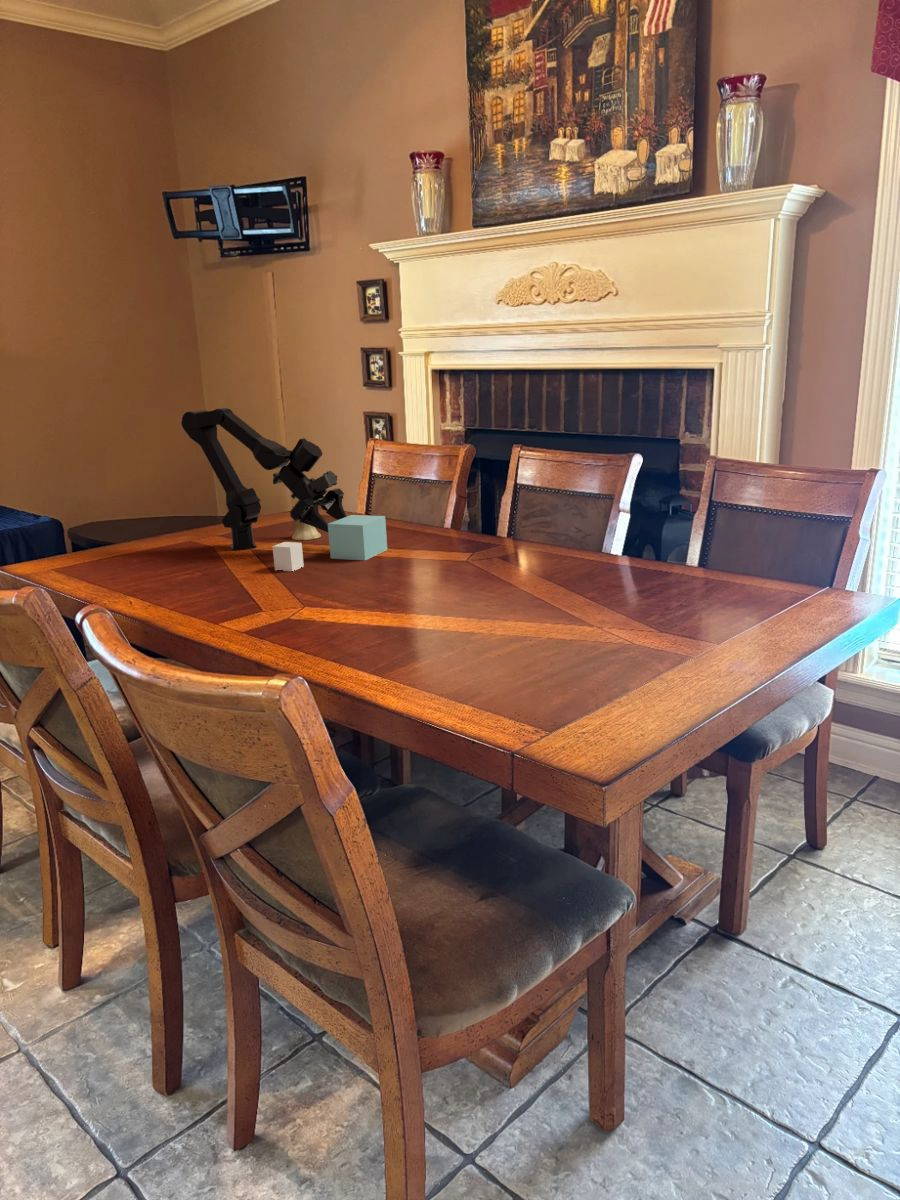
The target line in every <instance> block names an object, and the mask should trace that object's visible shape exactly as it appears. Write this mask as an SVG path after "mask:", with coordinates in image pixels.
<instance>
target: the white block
mask: <svg viewBox="0 0 900 1200" xmlns="http://www.w3.org/2000/svg"><path fill="white" fill-rule="evenodd" d="M271 547H272V556H273V563H274V565H273V566H274V571H277V570H283V571H282V572H291V571H293V572H295V571H297V570H299V569H301V567H302V568H304V567H305V565H304V555H303V544H302V542H294V541H283V542H280V543H278V544H275V545H272V546H271ZM294 570H295V571H294Z"/></svg>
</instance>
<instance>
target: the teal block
mask: <svg viewBox="0 0 900 1200" xmlns="http://www.w3.org/2000/svg"><path fill="white" fill-rule="evenodd" d="M346 516H347V515H346ZM386 523H387V522H386V516H385V515H363V514H362V515H361V514H360V515H357V514H351V515H348V516H347V517H345V518H342V519H339V520H337V519H336V520H333V521H332V522H329V523H327V524H328V532H327V533H328V545H329V553H330V559H333V560H334V559H335V560H337V559H338V560H350V561H353V560H355V561H367V560H369V559H371V558H373V557H375V556H377V554H378V555H380V554H382V553H383V552H385V551H388V540H387V539H388V537H387V524H386Z"/></svg>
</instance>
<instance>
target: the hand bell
mask: <svg viewBox="0 0 900 1200" xmlns="http://www.w3.org/2000/svg"><path fill="white" fill-rule="evenodd" d="M299 521H300V520H299ZM299 521H296V529H295V532H294V534H293V535H292V536H291V539H292V540H294V541H309V540H315V539H319V538H321V537H322V534H321V533H320V532H319V531H318V530H317V528H316V527H313V526H310V525H308V524H305V523H300V522H299Z"/></svg>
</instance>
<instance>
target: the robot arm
mask: <svg viewBox="0 0 900 1200" xmlns="http://www.w3.org/2000/svg"><path fill="white" fill-rule="evenodd" d="M180 422H181V423H180V424H181V427H182V429H183V430H184V433H186V434H187V436H188V438H190V439H191V440H192V441H194V442H195V443H196V444H197V445H199V446H200V448H201V449H202V452H203V453H204V455H205V457H206V459H207V461H208V462H209V464H210V466H211V469H212V470H213V472H214V473H215V475H216V477H217V479H218V482H219V483H220V485H221V487H222V488H223V490H224V492H225V505H226V508H227V510H228V511H227V513H226V514H225V515H224V516H223V518H222V519H221V522H222V525H223V527H224V528H229V529H230V535H231V543H230V545H229V546H230V548H231V550H232V551H237V550H247V549H252V548H253V549H254V548H257V544H256V542H255V540H254V534H253V525H252V524H254V523H257V522H258V518H259V515H260V513H261V509H262V505H261V503H260V502H261V501H262V500H261V499H260V498H259V496H257V493H256V491H255V489H254V488H253V487H251V488H247V487H246V486H244V485H243V483H242V482H241V480H240V478H239V476H238V474H237V472H236V471H235V469H234V467H233V464H232V463H231V461H230V460H229V457H228V455H227V454H226V451H225V450H224V448H223V446H222V444H221V442H220V441H219V438H218V427H217V426H220V427H221V428H222V429H224V431H226V432H228V433H229V434H230V436H232V437H234V438H235V439H236V440H237V441H239V442H240V443H241V444H242V445H243V446H245V448H248V449H249V451H251V453H252V455H253V457H254V460H255V461H257V463H258V464H259V465H260V467H262V468H263V469H264V470H266V471H271V470H275V469H280V470H279V471H278V472H275V473H272V476H273V479H272V484H273V485H277V484H281V483H282V484H283V485H284V486H285V487H286V488H287V489H288V490H289V492H290V493H291V495H290V497H291V499H293V500H295V499H297V500H298V501H297V502H296V503H295V505H293V507H292V508H291V510H290V511H289V514H290V516H289V517H290V518H291V519H292V520H293V521H294V522H295V523H297V521H299V520H300V521H299V522H300V523H305V524H308V525H310V526H313V527H315V529H319V530H321V531H324V532H326V533H328V524H329V523H327V521H326V520H325V518H324V517H323V516H322V515H321V514H320V512H319V508H321V509H322V510H323V511H325V514H327V515H328V516H330V517H332V518H334V519H336V521H337V520H339V519H342V518H345V517H347V513H346V511H345V510H344V507H343V506H344V505H343V500H344V495H345V492H343V491H342V489H341V488H332V489H330V490H328V489H329V488H331V487H333V486H336V485H338V475H336V474H335V473H334V472H333V471H332V470H328V471H326V472H324V473H323V474H322V475H321V476H320V477H317V478H316V479H315V478H314V477H311V478H309V477H308V476H307V475H306V472H310V471H311V470H312V469H313V468H314V467H315V465H316V464H317V463H318V461H320V459H321V457H322V456H323V452H322V449H321V448H320V447H319V445H316V444H315V443H313V442H312V441H310V440H309V441H308V440H307V439H306V438H305V437H303V438H299V439H298V440H297V442H296V445H295V446H294V447H293V449H291V450H289V449H287V447H285V446H284V445H282V444H281V443H278V442H277V441H274V440H271V439H268V438H266V437H264V436H263V435H261V434H260V433H258V432H257V431H256V429H253V428H252V427H251V426H250V425H249V424H248V423H247V422H245V421H244V420H243V419H241V418H240V417H239V416H237V414H235V413H234V412H233V410H232V409H230V408H229V407H220V408H215V409H214V410H206V409H200V410H192V411H186V412H185V413H183V414H182V417H181V421H180Z"/></svg>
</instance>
